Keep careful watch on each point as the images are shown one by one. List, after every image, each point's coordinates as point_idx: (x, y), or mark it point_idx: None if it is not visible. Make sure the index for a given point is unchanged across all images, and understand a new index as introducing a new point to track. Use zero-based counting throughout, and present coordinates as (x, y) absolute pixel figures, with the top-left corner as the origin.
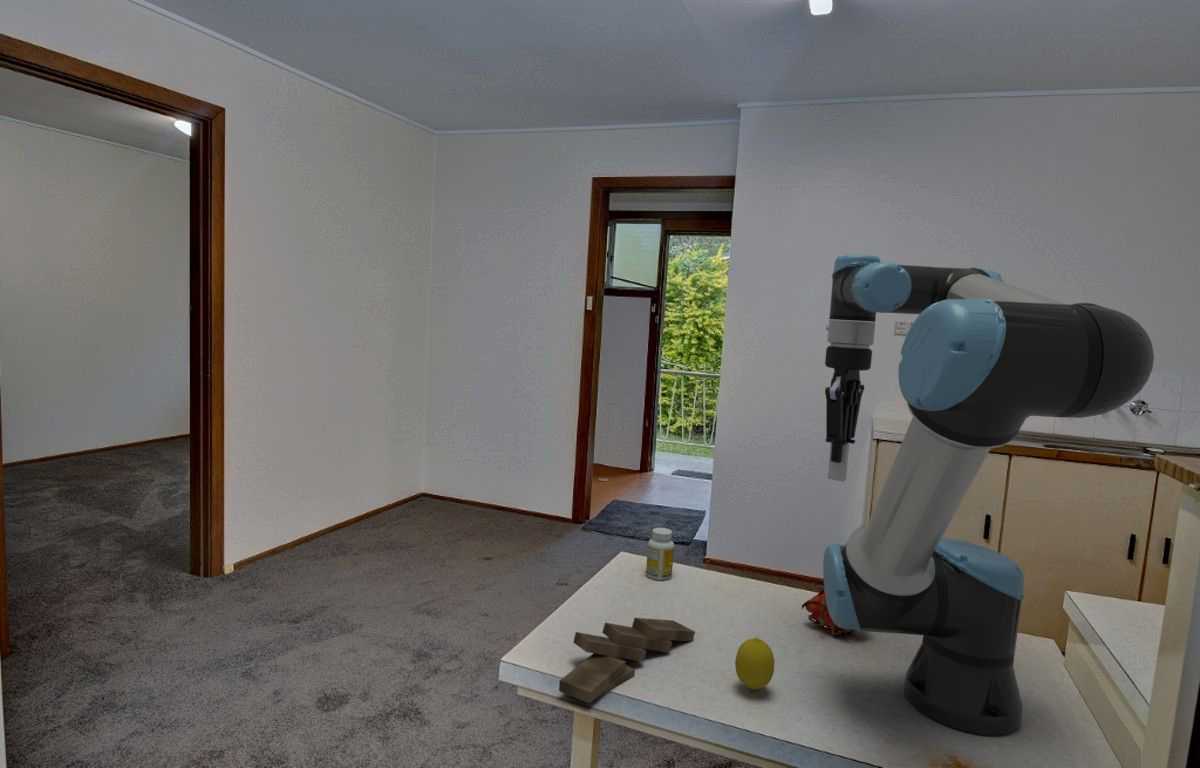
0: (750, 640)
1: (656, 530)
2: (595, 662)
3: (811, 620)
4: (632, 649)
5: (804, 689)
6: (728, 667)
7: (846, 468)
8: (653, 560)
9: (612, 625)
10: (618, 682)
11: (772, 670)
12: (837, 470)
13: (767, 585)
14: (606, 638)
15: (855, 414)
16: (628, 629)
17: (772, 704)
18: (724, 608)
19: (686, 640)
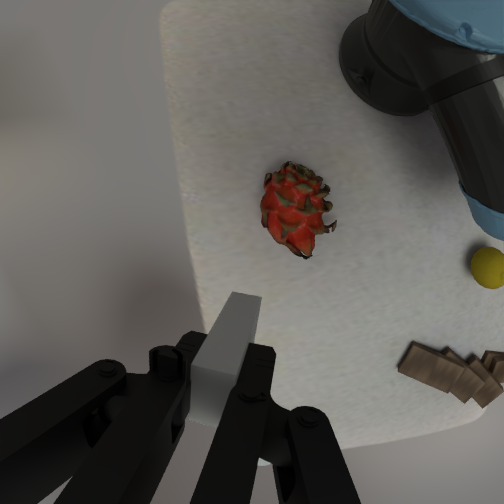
0: (502, 281)
1: (264, 462)
2: (501, 376)
3: (314, 239)
4: (483, 367)
5: (456, 214)
6: (449, 292)
7: (226, 310)
8: None
9: (465, 397)
10: (500, 353)
11: (495, 248)
12: (253, 333)
13: (206, 315)
14: None
15: (34, 442)
16: (459, 386)
17: (489, 236)
18: (314, 341)
19: (422, 345)
